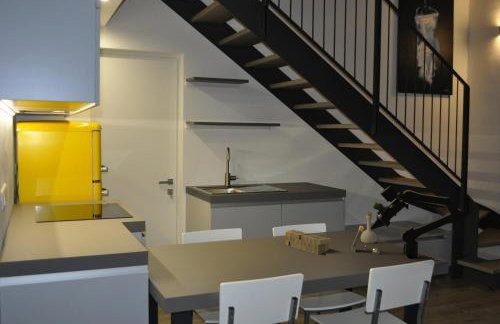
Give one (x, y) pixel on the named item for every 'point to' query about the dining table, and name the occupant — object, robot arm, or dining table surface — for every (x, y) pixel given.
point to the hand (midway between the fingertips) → (370, 228)
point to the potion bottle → (368, 231)
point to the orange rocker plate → (358, 235)
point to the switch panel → (374, 251)
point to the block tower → (307, 241)
